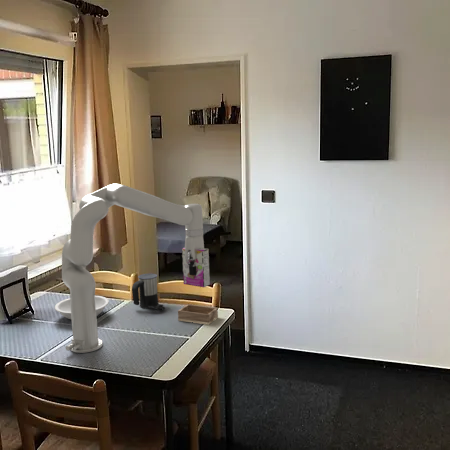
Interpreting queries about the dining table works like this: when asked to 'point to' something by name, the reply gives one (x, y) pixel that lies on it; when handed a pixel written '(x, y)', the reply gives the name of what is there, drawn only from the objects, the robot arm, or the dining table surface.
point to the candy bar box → (197, 269)
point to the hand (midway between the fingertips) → (196, 272)
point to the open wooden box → (198, 314)
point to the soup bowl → (66, 312)
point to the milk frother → (146, 292)
